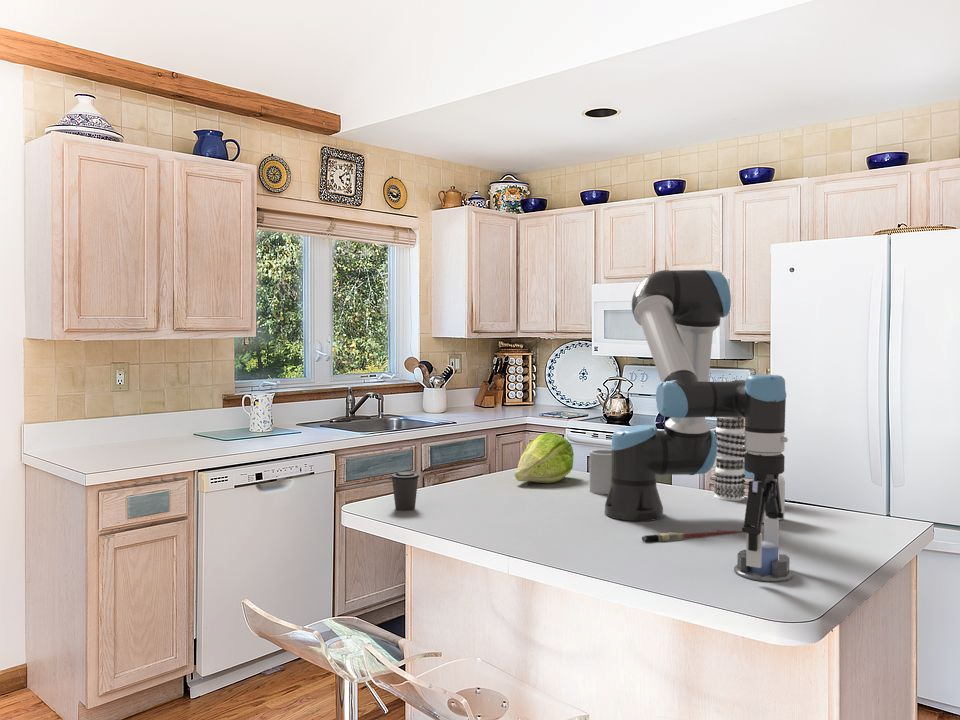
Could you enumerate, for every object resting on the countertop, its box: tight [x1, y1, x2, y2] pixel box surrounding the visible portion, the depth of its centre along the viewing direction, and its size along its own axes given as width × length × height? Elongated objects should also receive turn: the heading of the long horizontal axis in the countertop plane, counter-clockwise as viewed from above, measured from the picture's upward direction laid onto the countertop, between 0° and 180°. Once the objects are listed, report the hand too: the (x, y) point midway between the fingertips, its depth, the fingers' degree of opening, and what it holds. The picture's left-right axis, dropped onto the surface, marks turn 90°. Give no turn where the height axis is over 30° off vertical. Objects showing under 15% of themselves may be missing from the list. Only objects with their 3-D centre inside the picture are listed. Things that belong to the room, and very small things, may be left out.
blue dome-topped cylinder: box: [749, 540, 779, 575], centre depth 153 cm, size 6×6×5 cm
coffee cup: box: [389, 470, 421, 512], centre depth 210 cm, size 8×8×10 cm
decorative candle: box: [713, 417, 747, 502], centre depth 223 cm, size 9×9×25 cm
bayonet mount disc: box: [733, 549, 794, 583], centre depth 154 cm, size 11×11×4 cm
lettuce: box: [514, 431, 575, 484], centre depth 249 cm, size 15×25×16 cm
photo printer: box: [751, 474, 786, 524], centre depth 196 cm, size 10×4×12 cm, turn 123°
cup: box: [588, 449, 612, 495], centre depth 232 cm, size 9×9×12 cm
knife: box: [641, 530, 743, 542], centre depth 183 cm, size 29×2×5 cm
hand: (762, 557), depth 154 cm, fingers open, 13 cm apart
